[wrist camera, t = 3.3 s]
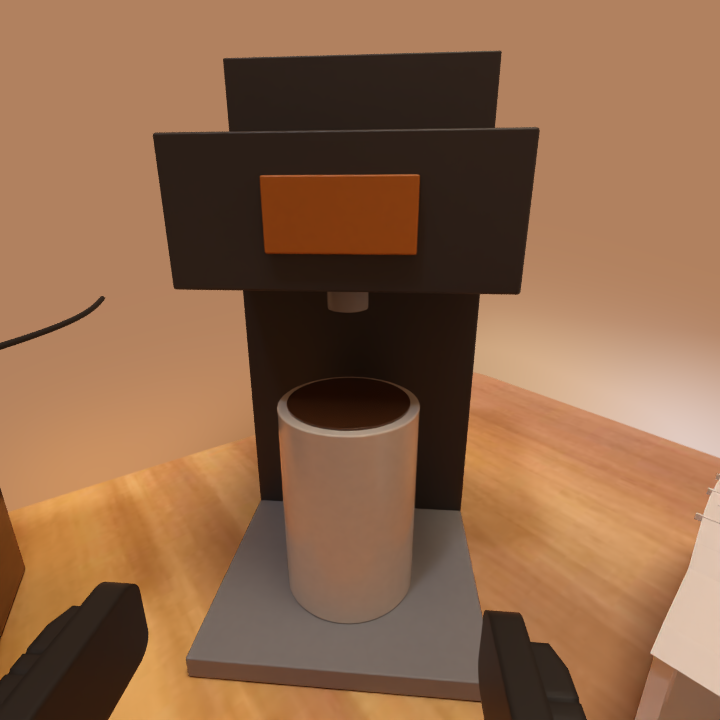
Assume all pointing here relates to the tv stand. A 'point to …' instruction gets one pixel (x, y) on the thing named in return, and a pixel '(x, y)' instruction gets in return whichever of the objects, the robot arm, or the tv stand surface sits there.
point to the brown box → (8, 564)
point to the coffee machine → (354, 322)
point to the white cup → (349, 495)
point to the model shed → (690, 635)
